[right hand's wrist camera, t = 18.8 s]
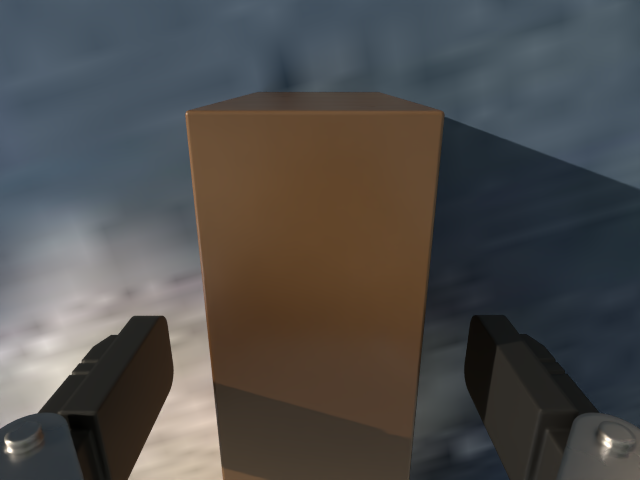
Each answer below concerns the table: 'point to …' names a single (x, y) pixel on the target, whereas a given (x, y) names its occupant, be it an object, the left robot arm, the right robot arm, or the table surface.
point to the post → (315, 277)
